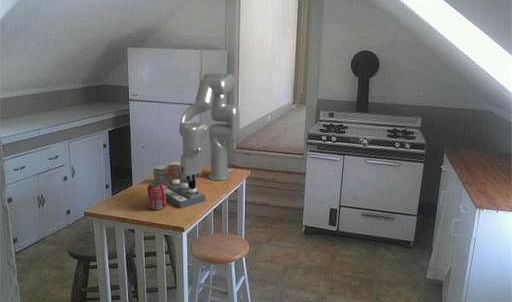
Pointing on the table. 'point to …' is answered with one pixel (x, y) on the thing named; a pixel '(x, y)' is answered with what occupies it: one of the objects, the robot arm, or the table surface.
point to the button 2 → (192, 190)
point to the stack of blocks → (169, 173)
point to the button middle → (183, 186)
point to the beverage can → (156, 195)
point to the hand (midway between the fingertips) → (192, 187)
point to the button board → (182, 196)
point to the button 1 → (175, 182)
